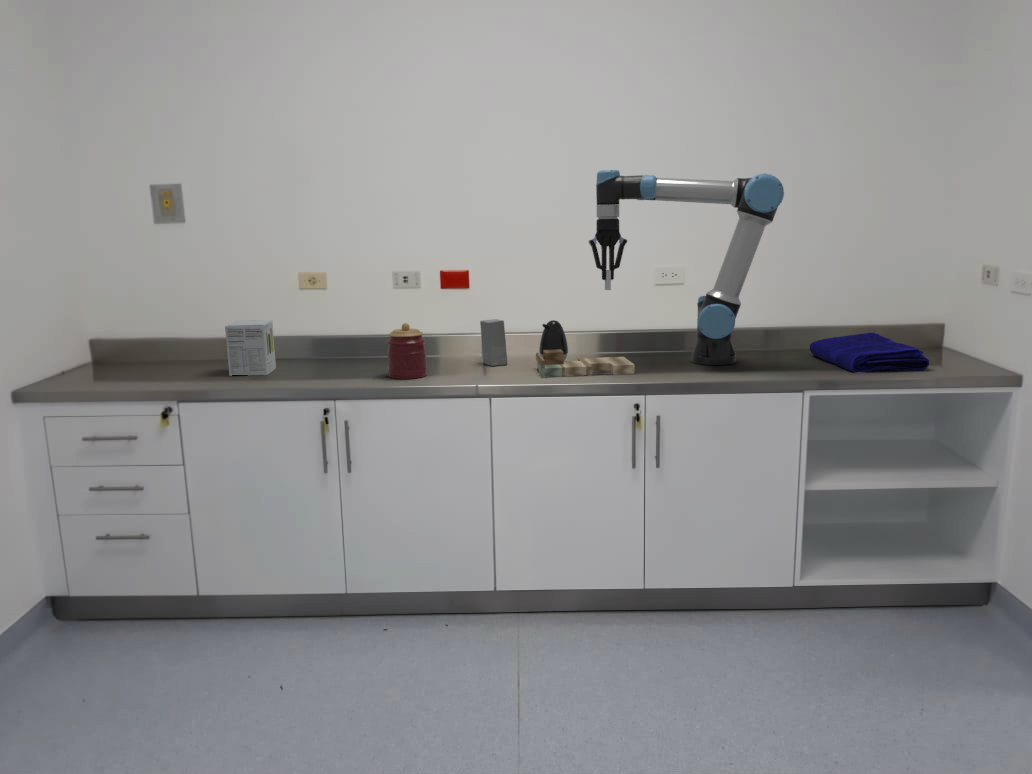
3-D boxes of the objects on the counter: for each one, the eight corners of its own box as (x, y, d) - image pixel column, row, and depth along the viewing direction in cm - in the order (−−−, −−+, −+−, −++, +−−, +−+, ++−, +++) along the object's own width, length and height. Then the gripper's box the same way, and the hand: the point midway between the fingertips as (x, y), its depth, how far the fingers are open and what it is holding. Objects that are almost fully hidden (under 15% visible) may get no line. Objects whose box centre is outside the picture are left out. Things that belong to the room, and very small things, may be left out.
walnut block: (561, 361, 278) (560, 349, 278) (563, 364, 272) (563, 352, 272) (543, 361, 278) (543, 350, 277) (545, 364, 272) (545, 352, 271)
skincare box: (507, 365, 290) (506, 320, 287) (488, 366, 287) (487, 321, 284) (499, 361, 298) (498, 317, 295) (480, 363, 295) (479, 319, 292)
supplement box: (268, 375, 281) (263, 324, 277) (228, 376, 280) (224, 325, 276) (277, 368, 294) (273, 319, 290) (239, 369, 293) (235, 320, 289)
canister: (429, 372, 280) (427, 320, 277) (424, 379, 268) (422, 325, 264) (391, 372, 281) (389, 321, 277) (385, 380, 268) (382, 326, 265)
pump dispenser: (533, 363, 293) (532, 320, 290) (553, 359, 300) (552, 317, 297) (554, 366, 285) (553, 322, 282) (574, 362, 293) (573, 319, 289)
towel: (851, 374, 262) (853, 347, 260) (805, 356, 297) (807, 332, 295) (931, 372, 264) (933, 345, 262) (876, 354, 299) (878, 330, 297)
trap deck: (623, 365, 285) (623, 349, 284) (634, 373, 269) (634, 357, 268) (536, 368, 282) (535, 352, 281) (542, 377, 267) (541, 360, 265)
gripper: (624, 217, 277) (624, 288, 281) (586, 218, 275) (586, 289, 280) (629, 217, 269) (629, 290, 274) (590, 218, 268) (590, 291, 273)
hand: (607, 289), depth 277 cm, fingers closed
